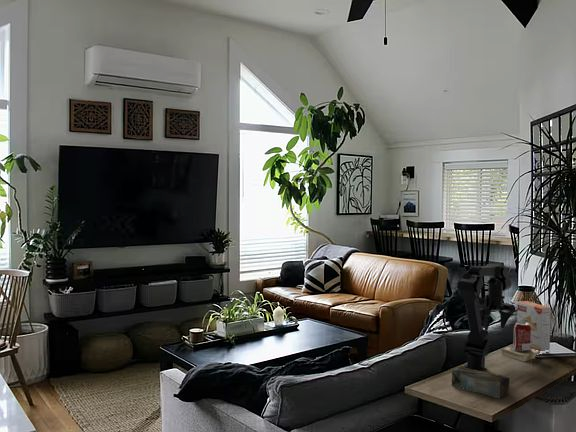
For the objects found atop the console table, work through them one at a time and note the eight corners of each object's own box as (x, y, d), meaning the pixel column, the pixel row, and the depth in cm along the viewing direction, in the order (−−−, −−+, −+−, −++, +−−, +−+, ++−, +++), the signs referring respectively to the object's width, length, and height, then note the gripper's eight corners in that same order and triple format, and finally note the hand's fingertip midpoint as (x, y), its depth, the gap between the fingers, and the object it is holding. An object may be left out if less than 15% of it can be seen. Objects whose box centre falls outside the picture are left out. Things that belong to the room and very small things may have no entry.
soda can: (532, 352, 242) (533, 325, 241) (516, 352, 242) (517, 325, 241) (526, 347, 249) (527, 321, 248) (511, 347, 249) (511, 320, 248)
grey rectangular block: (460, 380, 217) (461, 364, 216) (510, 394, 204) (510, 376, 203) (450, 386, 211) (451, 369, 210) (501, 400, 198) (501, 382, 197)
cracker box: (515, 346, 260) (517, 301, 259) (525, 344, 263) (526, 300, 261) (539, 355, 248) (541, 308, 246) (549, 353, 250) (551, 306, 248)
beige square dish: (523, 361, 239) (523, 355, 239) (501, 354, 248) (501, 348, 248) (539, 357, 244) (539, 351, 244) (517, 350, 254) (518, 344, 254)
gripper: (496, 287, 251) (495, 322, 252) (465, 291, 243) (464, 327, 244) (516, 292, 241) (515, 328, 242) (484, 296, 233) (483, 333, 234)
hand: (494, 329), depth 241 cm, fingers open, 9 cm apart
